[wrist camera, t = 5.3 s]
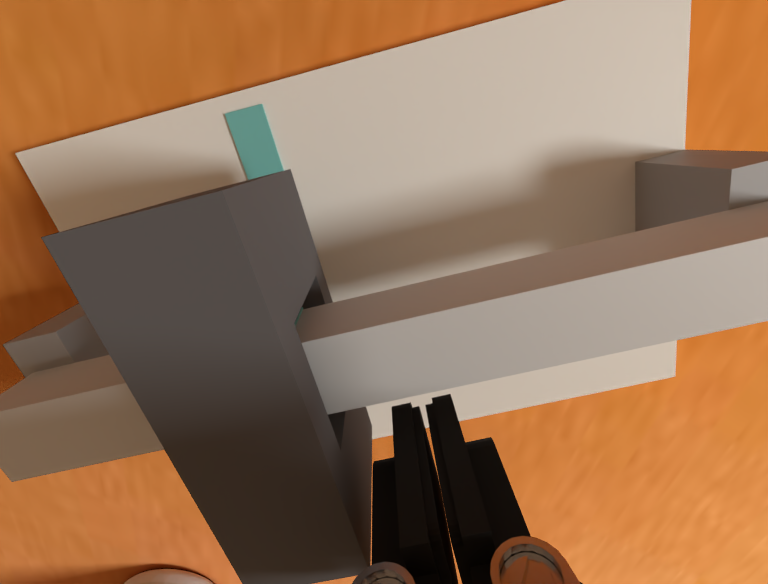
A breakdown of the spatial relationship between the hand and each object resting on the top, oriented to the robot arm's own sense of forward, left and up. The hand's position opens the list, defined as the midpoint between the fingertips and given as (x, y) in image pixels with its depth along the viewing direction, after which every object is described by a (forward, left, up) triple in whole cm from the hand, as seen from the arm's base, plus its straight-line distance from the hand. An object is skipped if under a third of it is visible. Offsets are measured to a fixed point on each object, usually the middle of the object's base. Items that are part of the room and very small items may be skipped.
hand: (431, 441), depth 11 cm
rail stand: (-3, 0, -6) cm, 7 cm away
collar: (-3, -3, -3) cm, 5 cm away
